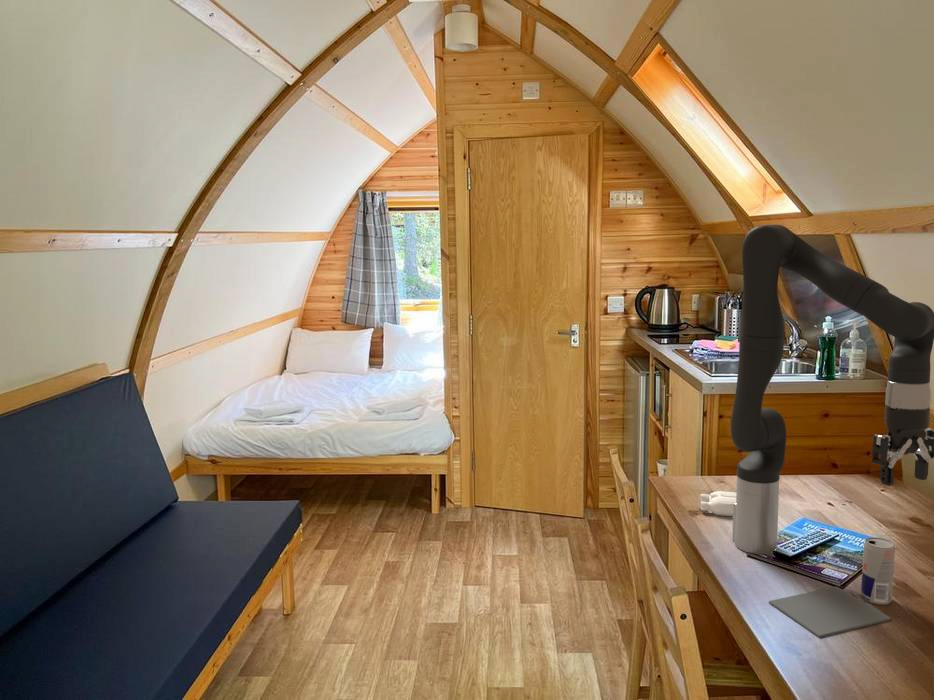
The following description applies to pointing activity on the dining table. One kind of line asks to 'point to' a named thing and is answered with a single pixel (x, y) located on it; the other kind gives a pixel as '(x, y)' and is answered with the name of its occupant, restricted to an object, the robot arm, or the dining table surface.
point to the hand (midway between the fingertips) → (903, 481)
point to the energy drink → (878, 570)
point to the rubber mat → (829, 611)
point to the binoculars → (719, 502)
